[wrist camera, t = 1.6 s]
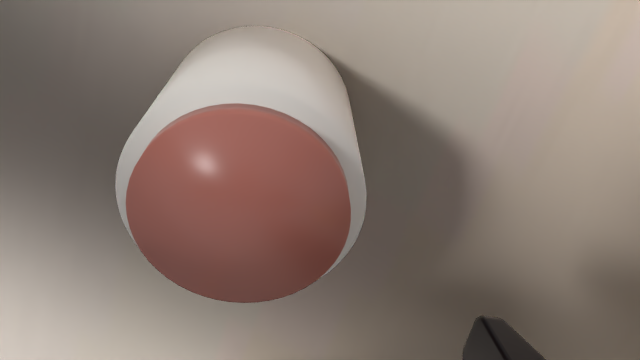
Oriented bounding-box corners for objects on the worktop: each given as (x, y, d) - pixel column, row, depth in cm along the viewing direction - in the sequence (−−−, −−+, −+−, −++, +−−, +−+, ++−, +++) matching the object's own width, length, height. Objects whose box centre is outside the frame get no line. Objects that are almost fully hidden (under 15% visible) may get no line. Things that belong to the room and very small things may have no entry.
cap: (368, 43, 15) (397, 118, 10) (332, 205, 18) (341, 327, 13) (170, 9, 14) (102, 72, 10) (165, 182, 17) (109, 301, 12)
